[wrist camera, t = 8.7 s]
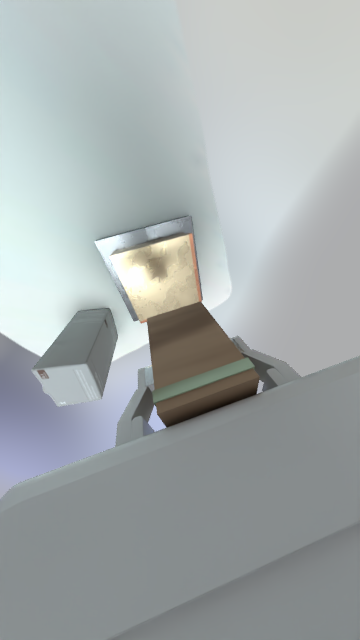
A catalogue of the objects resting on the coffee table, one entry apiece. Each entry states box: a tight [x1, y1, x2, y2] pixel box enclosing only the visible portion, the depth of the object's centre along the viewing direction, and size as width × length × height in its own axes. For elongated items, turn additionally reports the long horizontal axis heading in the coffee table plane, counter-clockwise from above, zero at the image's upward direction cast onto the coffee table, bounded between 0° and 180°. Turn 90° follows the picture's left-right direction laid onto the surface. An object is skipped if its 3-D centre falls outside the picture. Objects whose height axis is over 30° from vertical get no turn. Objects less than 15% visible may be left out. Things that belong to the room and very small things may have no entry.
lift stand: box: [95, 216, 203, 323], centre depth 28 cm, size 16×16×6 cm
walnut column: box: [147, 301, 260, 427], centre depth 12 cm, size 5×5×8 cm
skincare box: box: [32, 309, 118, 407], centre depth 27 cm, size 8×7×16 cm
